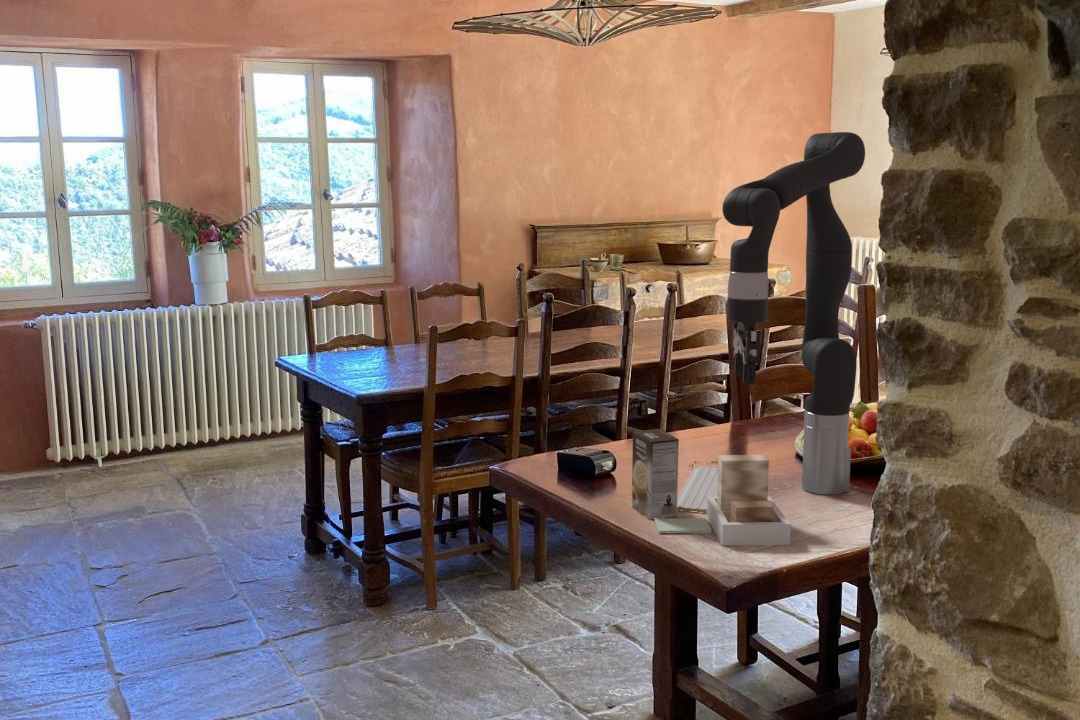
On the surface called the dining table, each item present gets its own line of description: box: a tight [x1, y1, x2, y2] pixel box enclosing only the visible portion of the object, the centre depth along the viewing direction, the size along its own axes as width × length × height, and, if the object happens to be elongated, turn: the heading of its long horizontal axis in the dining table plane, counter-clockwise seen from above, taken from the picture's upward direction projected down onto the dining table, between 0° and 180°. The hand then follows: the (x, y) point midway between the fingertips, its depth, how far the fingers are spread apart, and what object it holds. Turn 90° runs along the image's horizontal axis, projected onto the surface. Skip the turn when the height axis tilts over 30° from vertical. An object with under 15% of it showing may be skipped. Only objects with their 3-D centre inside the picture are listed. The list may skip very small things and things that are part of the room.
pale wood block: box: [717, 454, 770, 511], centre depth 203 cm, size 9×4×13 cm, turn 91°
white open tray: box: [706, 495, 791, 547], centre depth 199 cm, size 12×17×4 cm
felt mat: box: [654, 517, 713, 534], centre depth 201 cm, size 10×7×1 cm
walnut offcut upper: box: [731, 500, 773, 523], centre depth 193 cm, size 7×4×4 cm, turn 94°
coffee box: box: [631, 428, 680, 520], centre depth 209 cm, size 9×6×16 cm
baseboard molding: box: [677, 460, 718, 514], centre depth 224 cm, size 31×3×12 cm
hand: (744, 379), depth 199 cm, fingers open, 8 cm apart
